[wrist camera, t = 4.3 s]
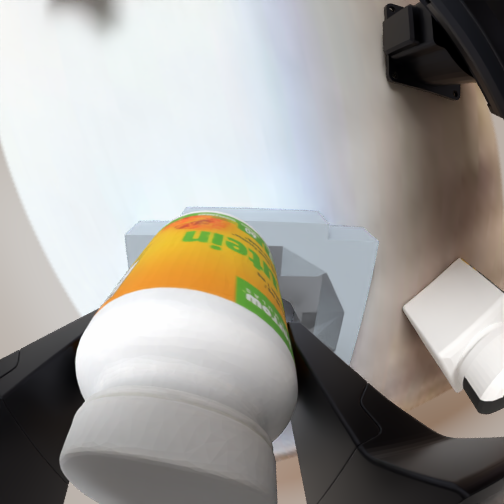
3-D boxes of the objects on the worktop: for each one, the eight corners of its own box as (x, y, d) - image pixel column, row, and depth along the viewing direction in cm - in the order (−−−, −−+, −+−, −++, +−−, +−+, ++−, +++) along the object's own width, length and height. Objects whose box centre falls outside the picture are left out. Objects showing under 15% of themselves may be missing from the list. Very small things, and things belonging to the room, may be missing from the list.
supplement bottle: (299, 249, 12) (389, 475, 3) (233, 340, 14) (229, 545, 5) (181, 182, 11) (14, 349, 2) (130, 288, 13) (28, 478, 4)
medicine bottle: (477, 302, 24) (545, 376, 13) (425, 347, 26) (480, 435, 15) (459, 254, 22) (548, 330, 11) (399, 306, 24) (468, 406, 13)
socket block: (365, 213, 21) (381, 226, 18) (330, 378, 27) (337, 401, 24) (138, 207, 20) (122, 219, 18) (162, 375, 26) (155, 398, 24)
